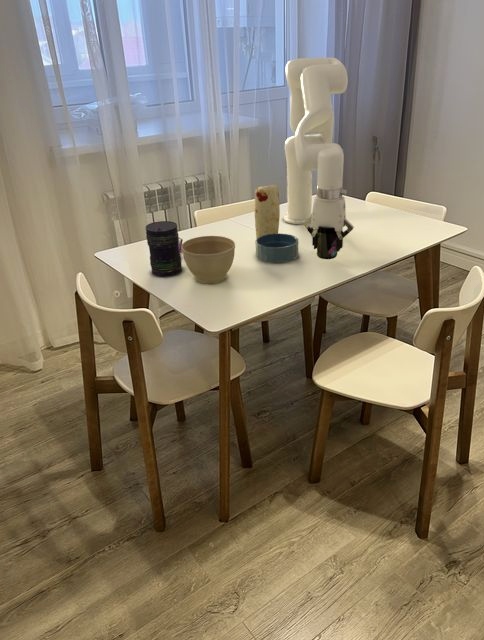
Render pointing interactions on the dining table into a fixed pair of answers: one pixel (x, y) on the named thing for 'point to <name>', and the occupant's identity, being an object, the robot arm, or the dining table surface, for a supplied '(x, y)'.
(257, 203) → the food model
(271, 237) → the basin
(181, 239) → the pink toy figurine
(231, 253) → the planter bowl
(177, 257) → the storage jar
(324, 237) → the supplement container
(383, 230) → the dining table surface
